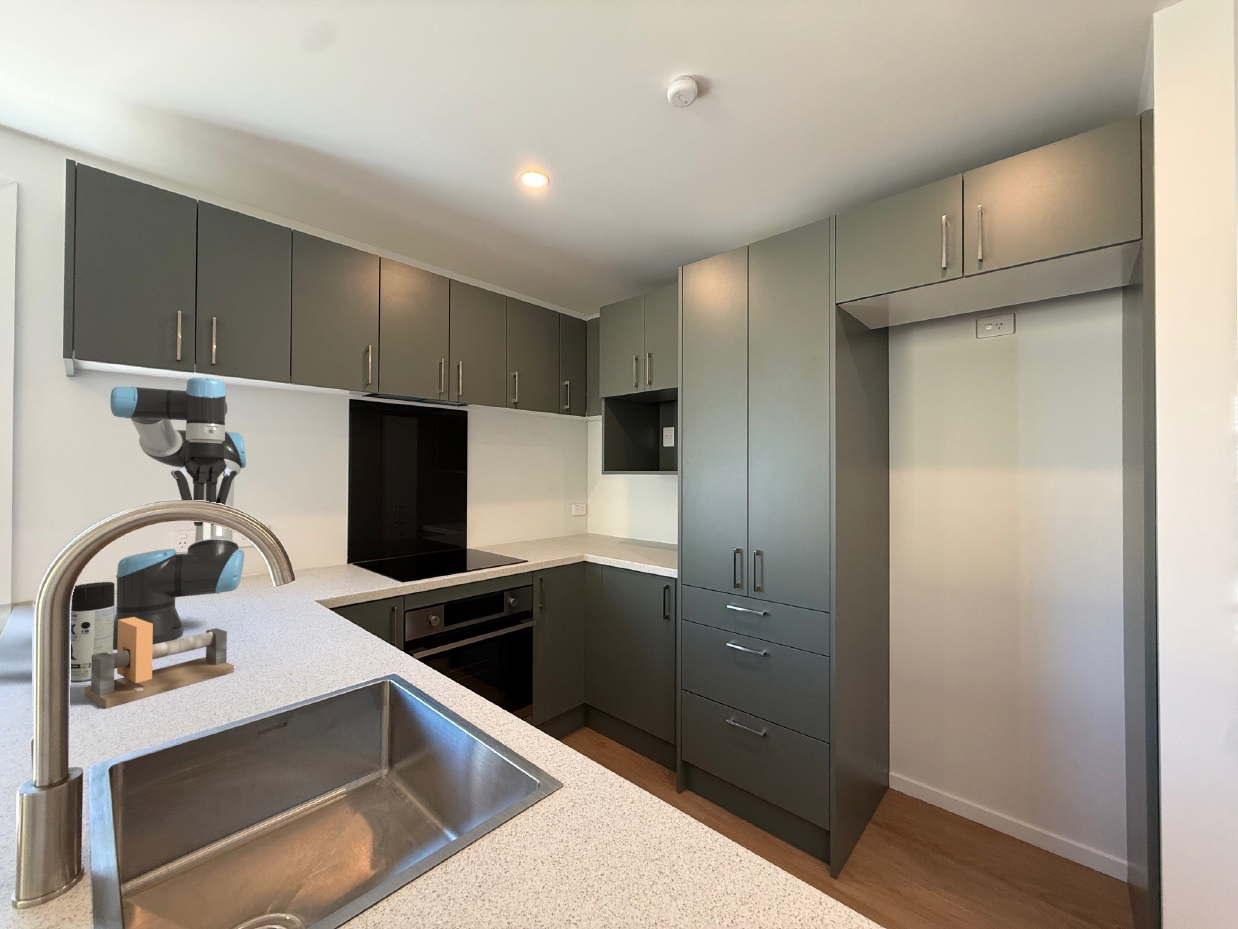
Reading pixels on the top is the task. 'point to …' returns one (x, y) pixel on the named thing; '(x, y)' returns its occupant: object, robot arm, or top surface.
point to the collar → (136, 648)
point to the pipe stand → (163, 678)
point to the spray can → (90, 626)
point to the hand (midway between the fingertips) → (204, 539)
